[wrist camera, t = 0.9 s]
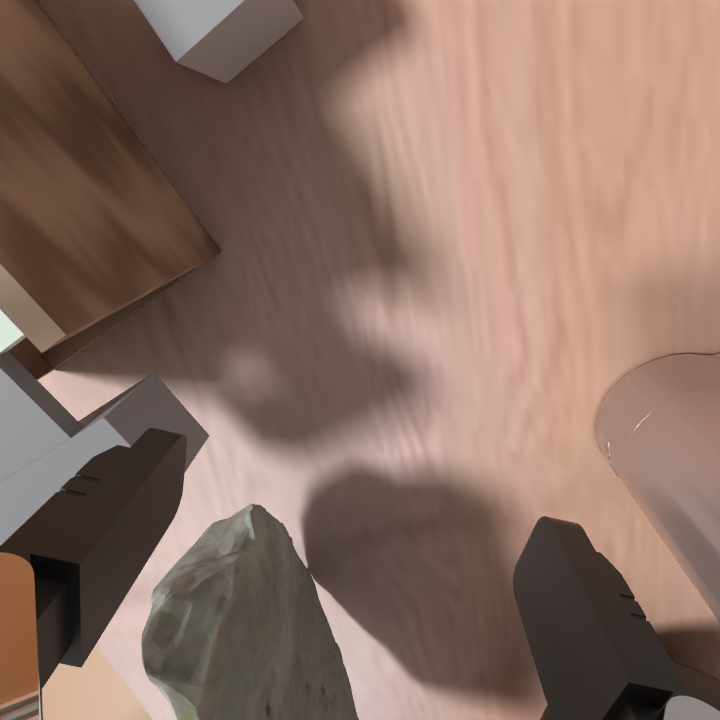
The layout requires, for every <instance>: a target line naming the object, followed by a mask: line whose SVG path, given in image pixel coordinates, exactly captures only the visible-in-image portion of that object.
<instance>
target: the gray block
mask: <svg viewBox="0 0 720 720" xmlns="http://www.w3.org/2000/svg"><path fill="white" fill-rule="evenodd" d="M134 1H135V3H136V4H137V6H138V7H139V8H140V10H141V11H142V13H143V14H144V16H145V17H146V19H147V20H148V22H149V23H150V25H151V26H152V28H153V29H154V31H155V32H156V34H157V35H158V37H159V38H160V40H161V41H162V43H163V44H164V46H165V47H166V49H167V50H168V51H169V53H170V54H171V56H172V57H173V59H174V60H175V62H177V63H179V64H181V65H184V66H186V67H188V68H191V69H193V70H195V71H198V72H200V73H202V74H205V75H207V76H209V77H212V78H214V79H217V80H219V81H221V82H224V83H226V84H227V83H228V82H229V81H230V80H232V79H233V78H234V77H235V76H236V75H238V74H239V73H240V72H241V71H242V70H243V69H245V68H246V67H247V66H248V65H249V64H251V63H252V62H253V61H254V60H255V59H257V58H258V57H259V56H260V55H261V54H262V53H264V52H265V51H266V50H267V49H268V48H270V47H271V46H272V45H273V44H274V43H276V42H277V41H278V40H279V39H280V38H281V37H283V36H284V35H285V34H286V33H287V32H289V31H290V30H291V29H292V28H293V27H295V26H296V25H297V24H298V23H299V22H300V21H302V20H303V19H304V18H303V16H302V14H301V12H300V11H299V9H298V7H297V5H296V4H295V2H294V0H134Z"/></svg>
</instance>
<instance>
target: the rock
mask: <svg viewBox="0 0 720 720" xmlns="http://www.w3.org/2000/svg"><path fill="white" fill-rule="evenodd" d="M151 602H152V608H151V612H150V615H149V617H148V620H147V622H146V625H145V628H144V631H143V634H142V662H143V665H144V668H145V671H146V674H147V676H148V678H149V680H150V681H151V682H152V683H153V684H154V685H155V686H157V687H158V688H159V690H160V691H161V692H162V693H163V695H164V696H165V697H166V698H167V700H168V701H169V702H170V704H171V706H172V708H173V710H174V712H175V715H176V717H177V720H359V719H358V716H357V713H356V710H355V705H354V700H353V696H352V691H351V685H350V682H349V679H348V675H347V672H346V669H345V666H344V664H343V660H342V655H341V651H340V648H339V646H338V644H337V643H336V642H335V639H334V637H333V634H332V631H331V628H330V626H329V623H328V621H327V618H326V616H325V613H324V611H323V609H322V606H321V604H320V601H319V598H318V595H317V591H316V587H315V583H314V581H313V578H312V576H311V574H310V572H309V570H308V569H307V568H306V567H305V565H304V564H303V562H302V560H301V559H300V558H299V556H298V554H297V552H296V551H295V548H294V547H293V543H292V538H291V537H290V536H289V534H288V532H287V530H286V528H285V526H284V525H283V523H280V522H279V521H278V520H277V519H276V518H274V517H273V516H272V515H271V514H269V513H268V512H267V511H266V509H265V508H263V507H262V506H261V505H255V504H250V505H249V506H247V507H245V508H244V509H242V510H241V511H239V512H238V513H236V514H234V515H233V516H231V517H230V518H228V519H224V520H220V521H217V522H215V523H213V524H212V525H211V526H210V527H208V528H207V530H206V531H205V532H204V533H203V535H202V536H201V537H200V538H199V540H198V541H197V542H196V543H195V544H194V545H193V546H192V547H191V548H190V549H189V550H188V552H187V553H186V554H185V555H184V556H183V557H182V558H181V559H180V560H179V561H178V562H177V563H176V564H175V565H174V566H173V568H172V569H171V570H170V571H169V572H168V573H167V574H166V576H165V577H164V578H163V579H162V580H161V582H160V583H159V584H158V585H157V586H156V587H155V588H154V590H153V594H152V596H151Z"/></svg>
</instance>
